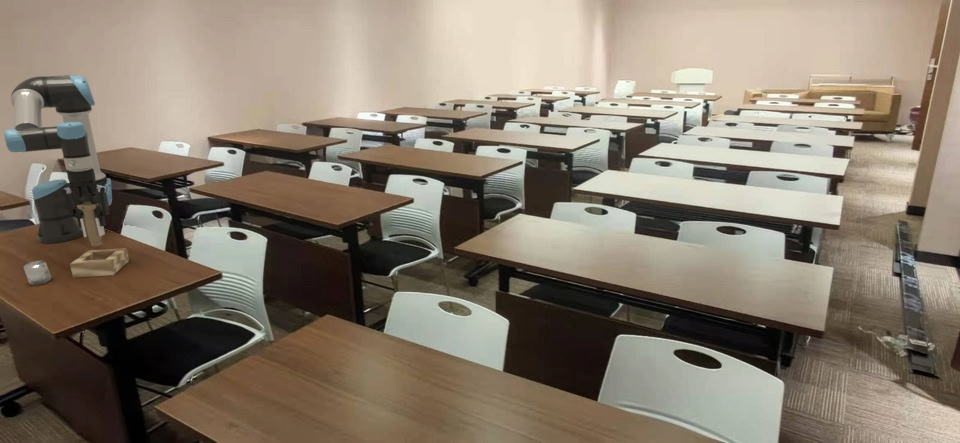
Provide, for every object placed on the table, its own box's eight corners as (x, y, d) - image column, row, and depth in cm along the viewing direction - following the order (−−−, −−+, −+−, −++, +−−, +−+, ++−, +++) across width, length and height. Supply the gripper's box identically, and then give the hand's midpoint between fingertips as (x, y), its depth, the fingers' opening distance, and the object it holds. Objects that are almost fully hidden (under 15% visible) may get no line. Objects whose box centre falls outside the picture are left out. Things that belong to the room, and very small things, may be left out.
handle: (100, 247, 195) (91, 205, 190) (82, 247, 195) (73, 205, 191) (110, 243, 200) (101, 201, 195) (92, 242, 200) (83, 201, 195)
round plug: (25, 284, 187) (18, 268, 185) (38, 276, 193) (33, 260, 190) (42, 285, 187) (36, 269, 185) (55, 276, 193) (50, 260, 190)
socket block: (91, 263, 205) (88, 250, 204) (129, 261, 208) (126, 248, 206) (73, 277, 193) (69, 264, 191) (113, 275, 195) (110, 261, 193)
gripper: (45, 172, 185) (61, 240, 192) (102, 170, 187) (116, 237, 194) (57, 167, 192) (72, 233, 199) (112, 165, 194) (125, 230, 201)
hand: (94, 235), depth 196 cm, fingers closed on handle, 4 cm apart
